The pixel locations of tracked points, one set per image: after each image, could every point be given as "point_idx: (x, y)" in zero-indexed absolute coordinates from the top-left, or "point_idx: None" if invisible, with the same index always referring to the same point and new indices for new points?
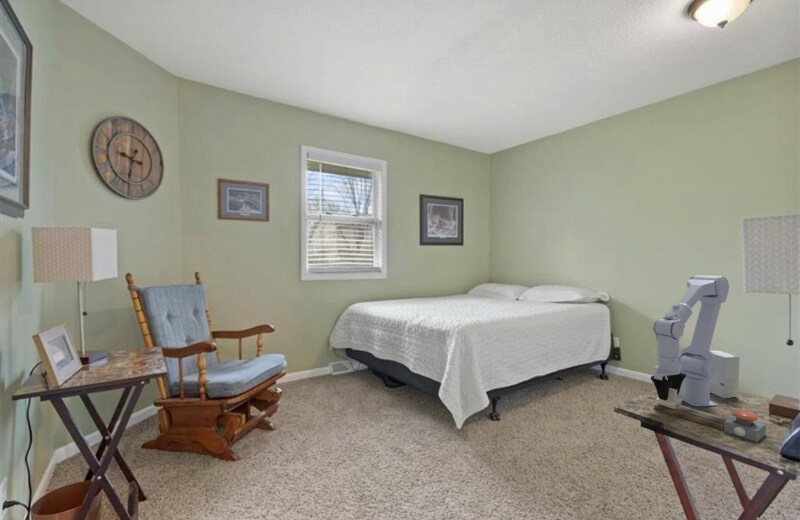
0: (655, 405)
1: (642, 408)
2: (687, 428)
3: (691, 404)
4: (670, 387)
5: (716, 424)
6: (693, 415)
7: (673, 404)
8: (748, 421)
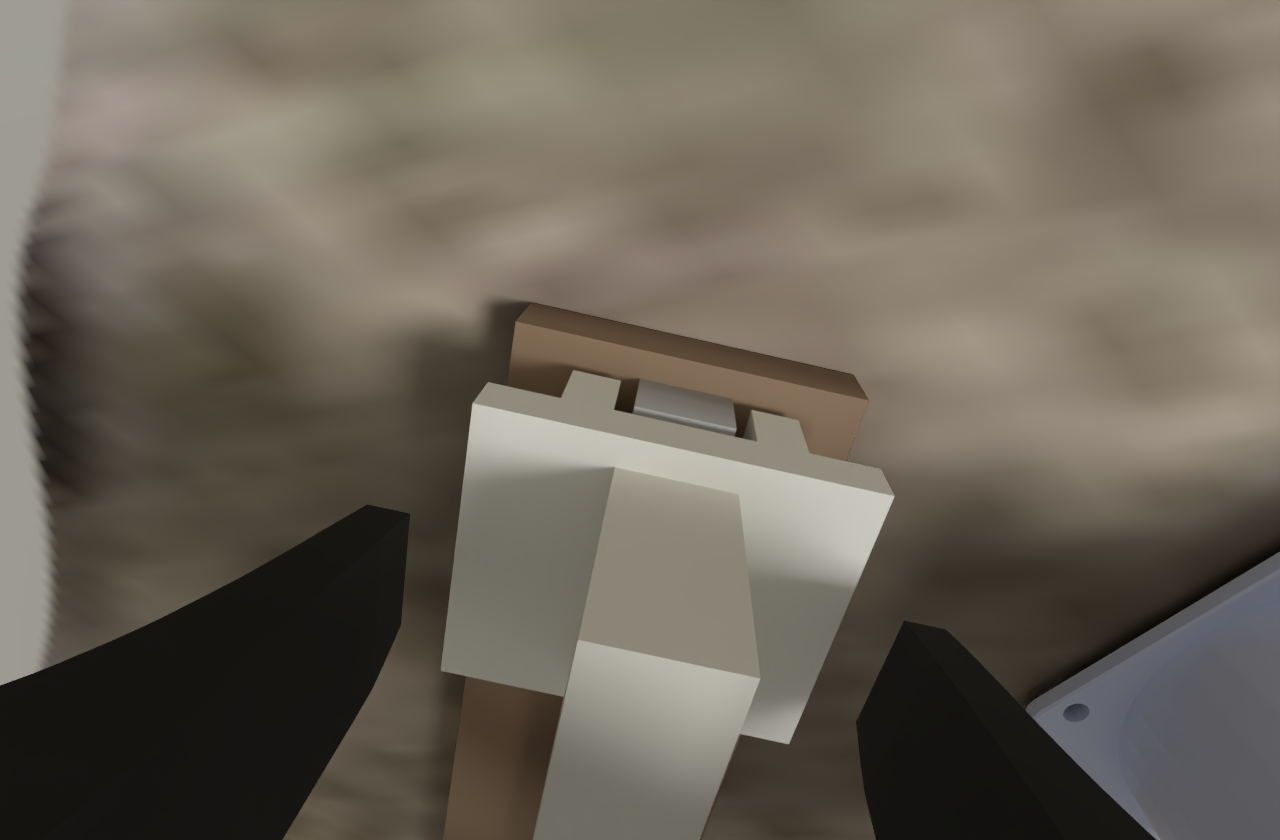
0: (515, 341)
1: (379, 135)
2: None
3: (1061, 690)
4: (957, 746)
5: None
6: (515, 766)
7: (455, 662)
8: None
